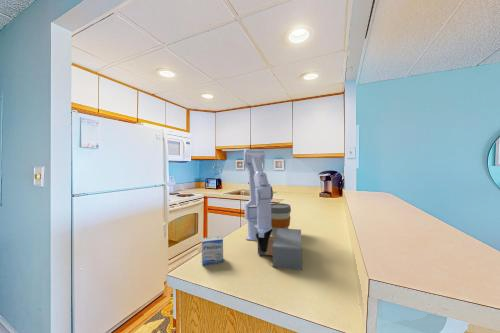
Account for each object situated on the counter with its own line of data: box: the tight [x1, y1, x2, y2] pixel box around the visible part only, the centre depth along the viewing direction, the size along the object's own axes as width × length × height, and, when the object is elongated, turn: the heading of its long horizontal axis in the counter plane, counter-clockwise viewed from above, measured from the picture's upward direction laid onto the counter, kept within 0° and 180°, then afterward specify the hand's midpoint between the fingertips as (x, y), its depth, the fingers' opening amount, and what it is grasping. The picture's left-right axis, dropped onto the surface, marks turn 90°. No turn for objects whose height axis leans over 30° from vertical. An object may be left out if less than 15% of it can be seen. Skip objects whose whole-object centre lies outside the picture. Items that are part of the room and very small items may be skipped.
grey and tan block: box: [257, 235, 275, 256], centre depth 81 cm, size 4×14×6 cm, turn 76°
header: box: [272, 228, 303, 271], centre depth 80 cm, size 20×10×8 cm, turn 166°
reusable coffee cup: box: [270, 202, 292, 237], centre depth 104 cm, size 13×13×15 cm
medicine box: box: [200, 235, 224, 266], centre depth 76 cm, size 8×4×9 cm, turn 105°
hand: (264, 248), depth 82 cm, fingers open, 4 cm apart
